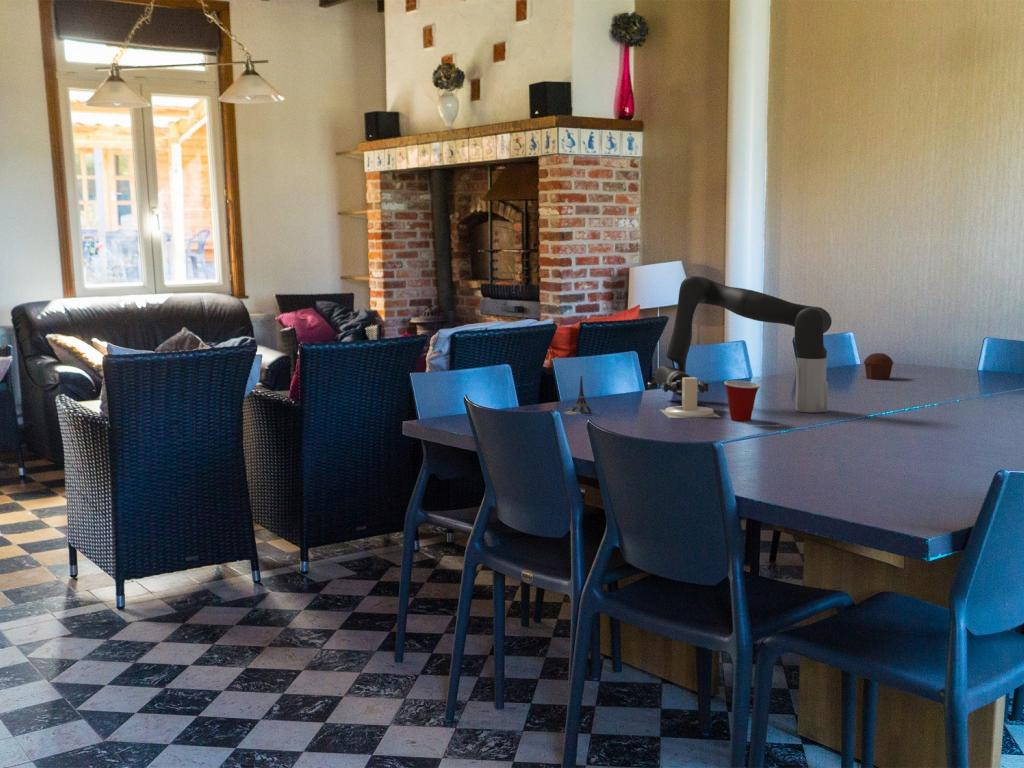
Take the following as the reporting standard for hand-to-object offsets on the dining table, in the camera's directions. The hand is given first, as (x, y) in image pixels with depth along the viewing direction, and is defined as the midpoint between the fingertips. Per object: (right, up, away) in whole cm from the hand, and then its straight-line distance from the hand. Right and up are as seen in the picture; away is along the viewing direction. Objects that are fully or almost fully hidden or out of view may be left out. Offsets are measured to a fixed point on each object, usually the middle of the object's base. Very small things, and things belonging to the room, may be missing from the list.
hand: (689, 389), depth 325 cm
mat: (0, -8, +1) cm, 8 cm away
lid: (0, -7, +1) cm, 8 cm away
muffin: (+90, +4, +85) cm, 124 cm away
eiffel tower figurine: (-34, -8, +9) cm, 36 cm away
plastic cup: (+14, -10, -13) cm, 21 cm away
